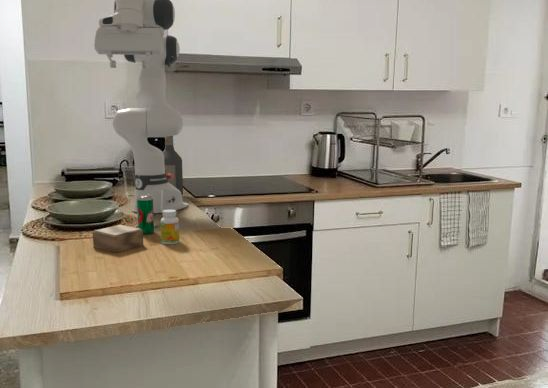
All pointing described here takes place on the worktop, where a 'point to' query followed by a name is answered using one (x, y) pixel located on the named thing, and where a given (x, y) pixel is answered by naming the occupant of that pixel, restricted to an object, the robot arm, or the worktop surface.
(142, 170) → the robot arm
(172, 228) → the supplement bottle
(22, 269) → the worktop surface
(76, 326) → the worktop surface
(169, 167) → the liquor
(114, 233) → the walnut block
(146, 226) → the soda can
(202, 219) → the worktop surface
